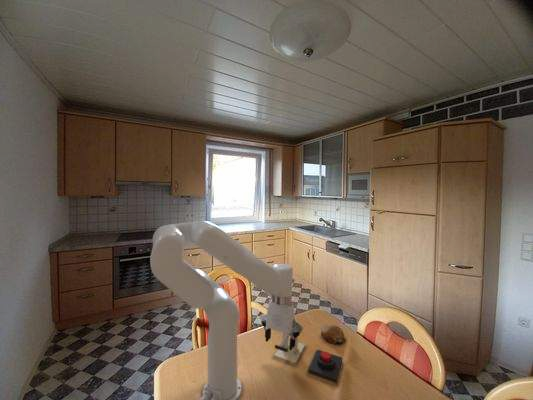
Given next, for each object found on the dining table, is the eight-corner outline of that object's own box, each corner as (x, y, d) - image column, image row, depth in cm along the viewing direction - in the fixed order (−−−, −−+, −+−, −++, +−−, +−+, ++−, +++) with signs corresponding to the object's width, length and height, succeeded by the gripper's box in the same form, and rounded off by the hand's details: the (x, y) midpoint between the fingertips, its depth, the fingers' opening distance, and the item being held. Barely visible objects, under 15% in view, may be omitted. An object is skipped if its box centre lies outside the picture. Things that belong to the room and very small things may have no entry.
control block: (336, 385, 78) (336, 374, 78) (308, 375, 83) (308, 364, 83) (342, 362, 89) (342, 352, 89) (316, 354, 93) (316, 345, 93)
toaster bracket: (295, 366, 87) (295, 333, 87) (274, 358, 91) (274, 326, 91) (305, 347, 98) (305, 318, 97) (285, 341, 102) (285, 312, 102)
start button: (329, 364, 83) (329, 359, 83) (319, 360, 85) (319, 356, 85) (331, 357, 87) (331, 353, 86) (322, 354, 88) (322, 350, 88)
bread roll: (342, 343, 106) (340, 323, 109) (347, 347, 97) (345, 325, 100) (320, 341, 107) (319, 322, 110) (323, 345, 98) (322, 324, 101)
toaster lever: (287, 354, 85) (286, 349, 84) (275, 350, 87) (274, 345, 86) (297, 327, 95) (296, 323, 94) (286, 324, 97) (285, 320, 96)
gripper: (256, 296, 86) (254, 341, 86) (300, 308, 78) (298, 357, 78) (265, 289, 93) (263, 331, 93) (306, 299, 85) (304, 345, 85)
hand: (279, 343), depth 86 cm, fingers open, 9 cm apart
